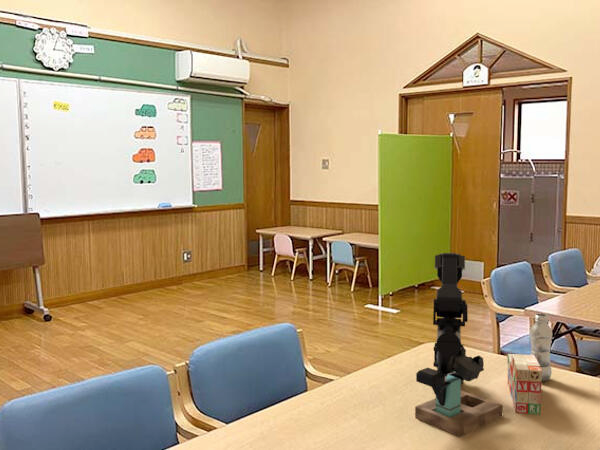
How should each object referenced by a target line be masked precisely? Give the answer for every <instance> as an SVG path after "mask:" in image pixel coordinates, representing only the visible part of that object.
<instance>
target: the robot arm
mask: <svg viewBox="0 0 600 450" xmlns="http://www.w3.org/2000/svg"><path fill="white" fill-rule="evenodd" d="M465 268H466V256H464V255H461V253H457V252H442V253H439V254H435V255H434V270H436V271H437V274H436V275H437V278H438V280H439V282H441V287H439V288H438V289H437V290H436V298H433V310H432V311H433V313H432V315H433V316H432V317H433V318H432V319H433V320H432V323H433V326H436V327H437V328H436V329H437V332H436V333H437V334H436V342H434V346H433V351H434V352H433V353H434V360H433V361H434V362H433V367H434V368H436V369H433V368H430V367H425V368H422V369H419V370H418V371H417V372H416V373H415V376H416V377H415V379H416V382H417V383H420V384H422V385H425V386H428V387H430V388H431V389H432V391H433V393H434V395H435V398H436V397H437V399H438V401H439V403H440V405H441V406H444V405H445V398H446V388H447V386H449V385H450V384H451V383H450V382H447V375H451V376H454V377H457V378H460V379H461V386H462V385H463V383H464V381H465V382H471V381H473V380H477V379H478V378H479V376H480V373H481V372H483V371H485V368H484V366H485V365H484V364H485V363H484V357H482V356H480V355H476V356H474V357H472V356H467V354H466V352H467V350H466V349H465V346H464V344H462V337H461V336H462V334H461V333H462V331H461V329H462V327H466V323H468V320H469V319H468V317H469V316H468V304H467V303H466V300H465V299H463V291H462V290H461V289H460V288H459V287H458V284H459V283H460V281H461V279H462V277H463V271H465V270H466V269H465ZM461 318H462V319H461Z"/></svg>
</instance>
